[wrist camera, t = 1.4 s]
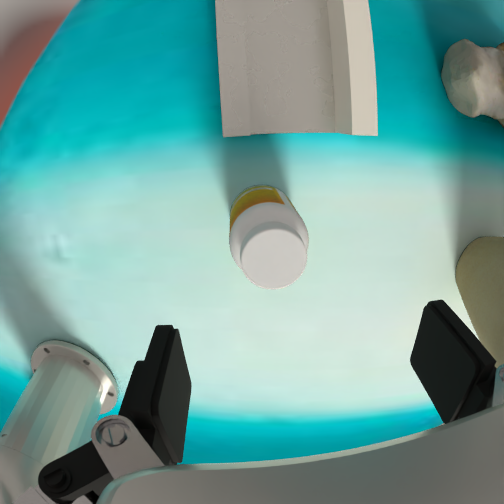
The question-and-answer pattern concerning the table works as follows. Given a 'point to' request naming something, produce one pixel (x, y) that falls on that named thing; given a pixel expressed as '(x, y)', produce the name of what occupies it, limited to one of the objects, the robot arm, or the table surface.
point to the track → (296, 67)
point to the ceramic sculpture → (475, 79)
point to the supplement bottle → (268, 237)
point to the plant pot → (484, 291)
